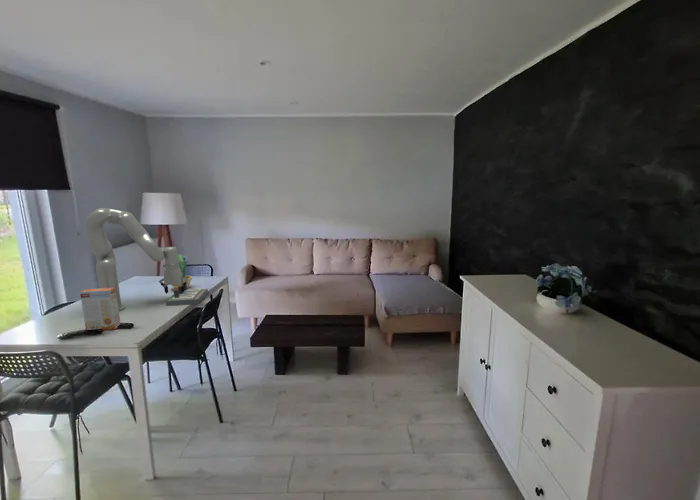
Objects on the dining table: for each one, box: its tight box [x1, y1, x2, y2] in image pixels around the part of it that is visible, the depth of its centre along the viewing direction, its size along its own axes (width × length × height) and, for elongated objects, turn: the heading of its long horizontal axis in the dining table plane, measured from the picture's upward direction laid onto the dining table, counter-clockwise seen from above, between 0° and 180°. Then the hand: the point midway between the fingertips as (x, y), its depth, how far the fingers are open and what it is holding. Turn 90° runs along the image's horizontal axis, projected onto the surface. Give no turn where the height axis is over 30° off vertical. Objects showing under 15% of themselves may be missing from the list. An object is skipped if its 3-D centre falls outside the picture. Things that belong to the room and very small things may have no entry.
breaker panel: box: [165, 284, 209, 307], centre depth 227 cm, size 23×19×8 cm
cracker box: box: [79, 287, 121, 331], centre depth 179 cm, size 14×6×21 cm, turn 96°
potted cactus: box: [171, 253, 193, 291], centre depth 249 cm, size 15×15×25 cm
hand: (175, 292), depth 225 cm, fingers open, 9 cm apart
